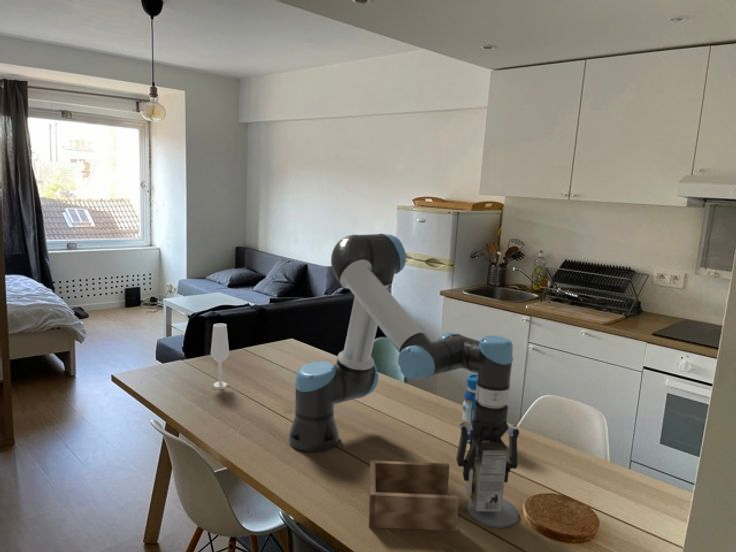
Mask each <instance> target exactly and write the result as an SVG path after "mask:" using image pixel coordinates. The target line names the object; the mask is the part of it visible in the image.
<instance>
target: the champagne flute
mask: <svg viewBox="0 0 736 552" xmlns="http://www.w3.org/2000/svg"><path fill="white" fill-rule="evenodd" d="M227 326H228V325H227V324H226V323H214V324H213V326H212V335H211V336H212V337H211V347H210V356H211V357H212V359H213V360H215V361H216V362H217V363H218V365H217V366H218V367H217V369H218V372H217V373H218V377H217V378H218V381H217V382H215V383H213V384H214V386H215V387H225V386H226V385H227V384H228V383H226V382H224V381H222V376H223V375H222V374H223V373H222V367H223V366H222V364H223V361H225V360H226V359H227V358H228V357H229V355H230V349H229V348H230V347H229V339H228V338H229V337H228V328H227Z"/></svg>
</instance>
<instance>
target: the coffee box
mask: <svg viewBox="0 0 736 552" xmlns="http://www.w3.org/2000/svg"><path fill="white" fill-rule="evenodd" d="M475 434H476V433H475V431H474V430H471V438H470V442H469V448H470V447H471V445H472V442H473V441H474V442H477V444H476V453H475V459H474V461H473V463H472V468H473V480H472V492H471V495H468V497H469V498H470V500H471V501H472V503H473V505H474V507H475V509H476V511H501V508H502V498H503V496H504V486H505V482H504V479H505V469H506V459H507V460H508V458H507V457H508V450H509V449H508V446H506V444H505V442H504V440H502V443H497V442H496V441H492V440H484V441H478V439H479V437H478V436H476V435H475ZM503 499H504V498H503Z"/></svg>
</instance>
